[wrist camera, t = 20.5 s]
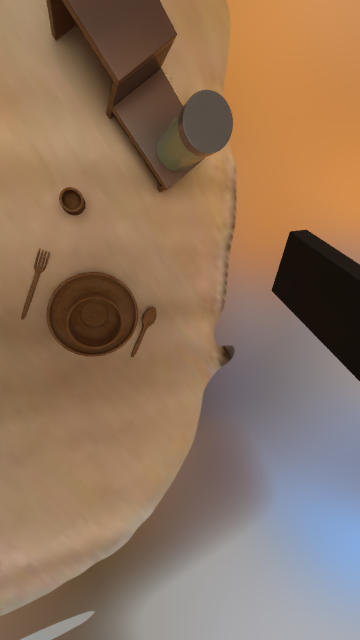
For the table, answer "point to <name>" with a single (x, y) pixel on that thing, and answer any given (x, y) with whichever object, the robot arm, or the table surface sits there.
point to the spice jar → (195, 131)
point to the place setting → (90, 304)
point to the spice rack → (130, 66)
